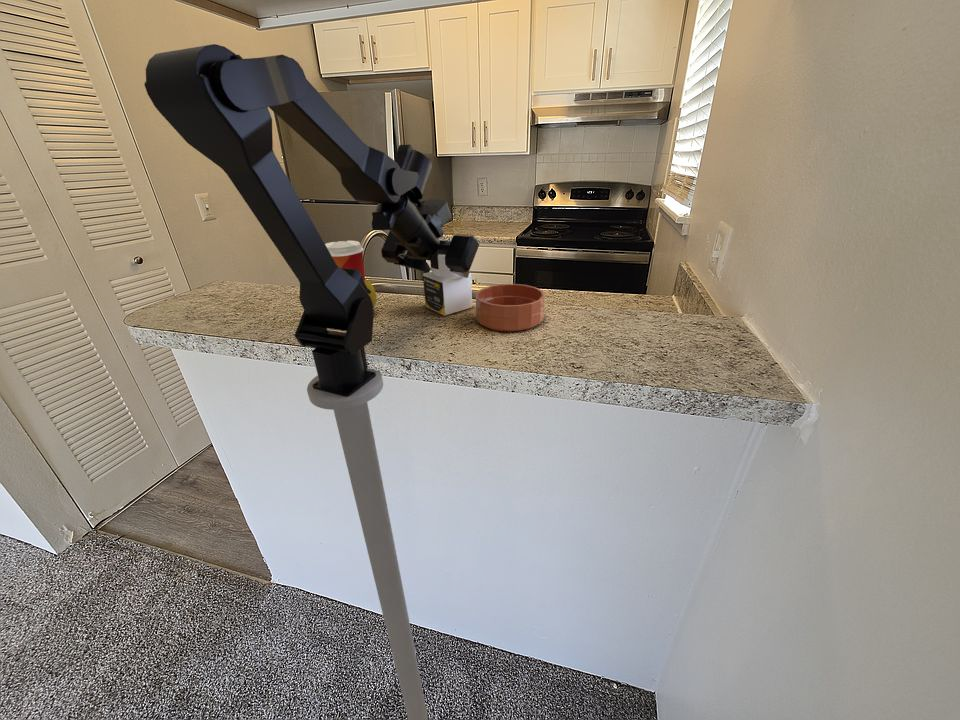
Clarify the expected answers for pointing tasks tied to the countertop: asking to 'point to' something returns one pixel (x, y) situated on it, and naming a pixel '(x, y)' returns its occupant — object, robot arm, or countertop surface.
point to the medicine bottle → (446, 288)
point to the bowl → (510, 307)
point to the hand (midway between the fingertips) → (448, 273)
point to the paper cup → (347, 255)
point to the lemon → (373, 293)
